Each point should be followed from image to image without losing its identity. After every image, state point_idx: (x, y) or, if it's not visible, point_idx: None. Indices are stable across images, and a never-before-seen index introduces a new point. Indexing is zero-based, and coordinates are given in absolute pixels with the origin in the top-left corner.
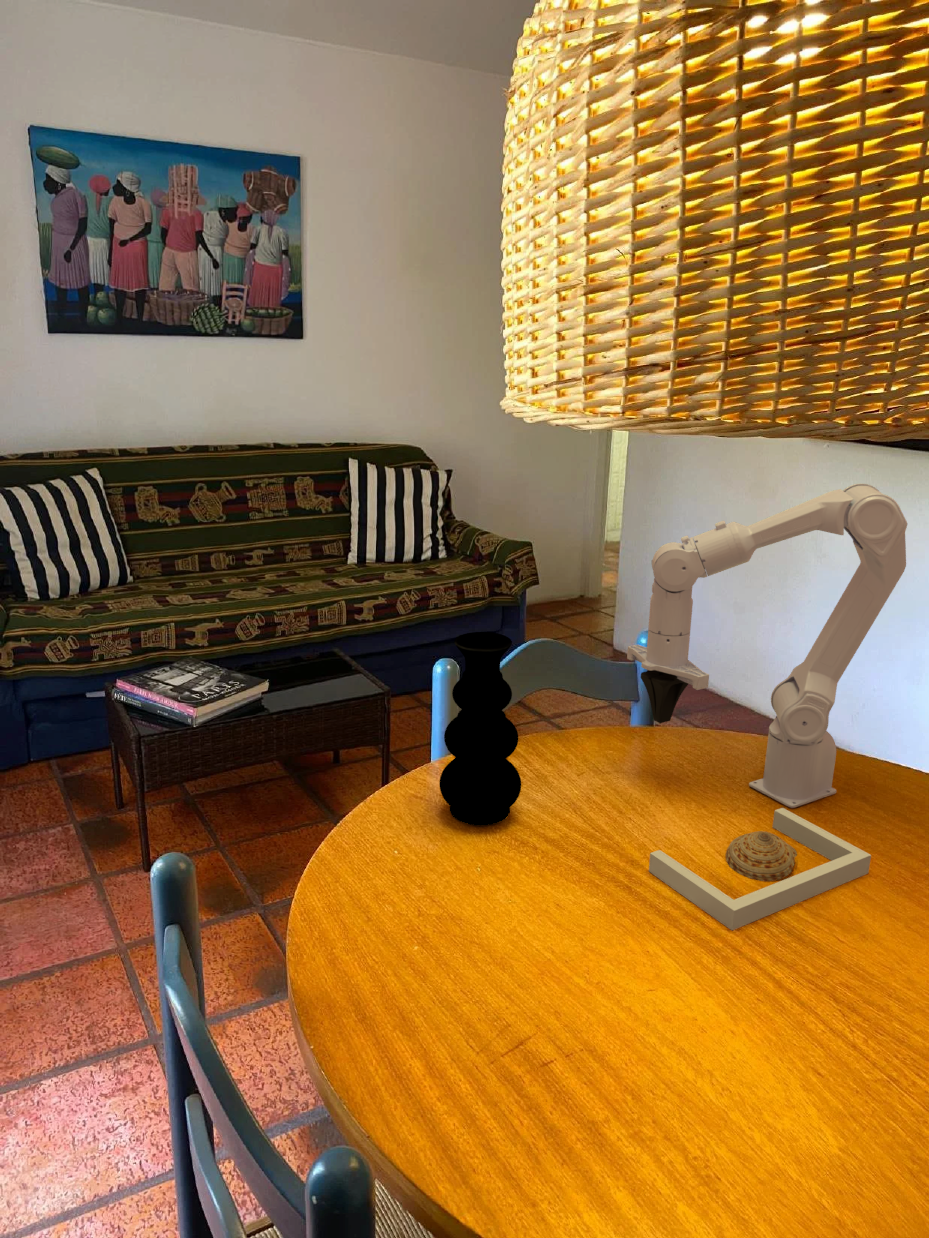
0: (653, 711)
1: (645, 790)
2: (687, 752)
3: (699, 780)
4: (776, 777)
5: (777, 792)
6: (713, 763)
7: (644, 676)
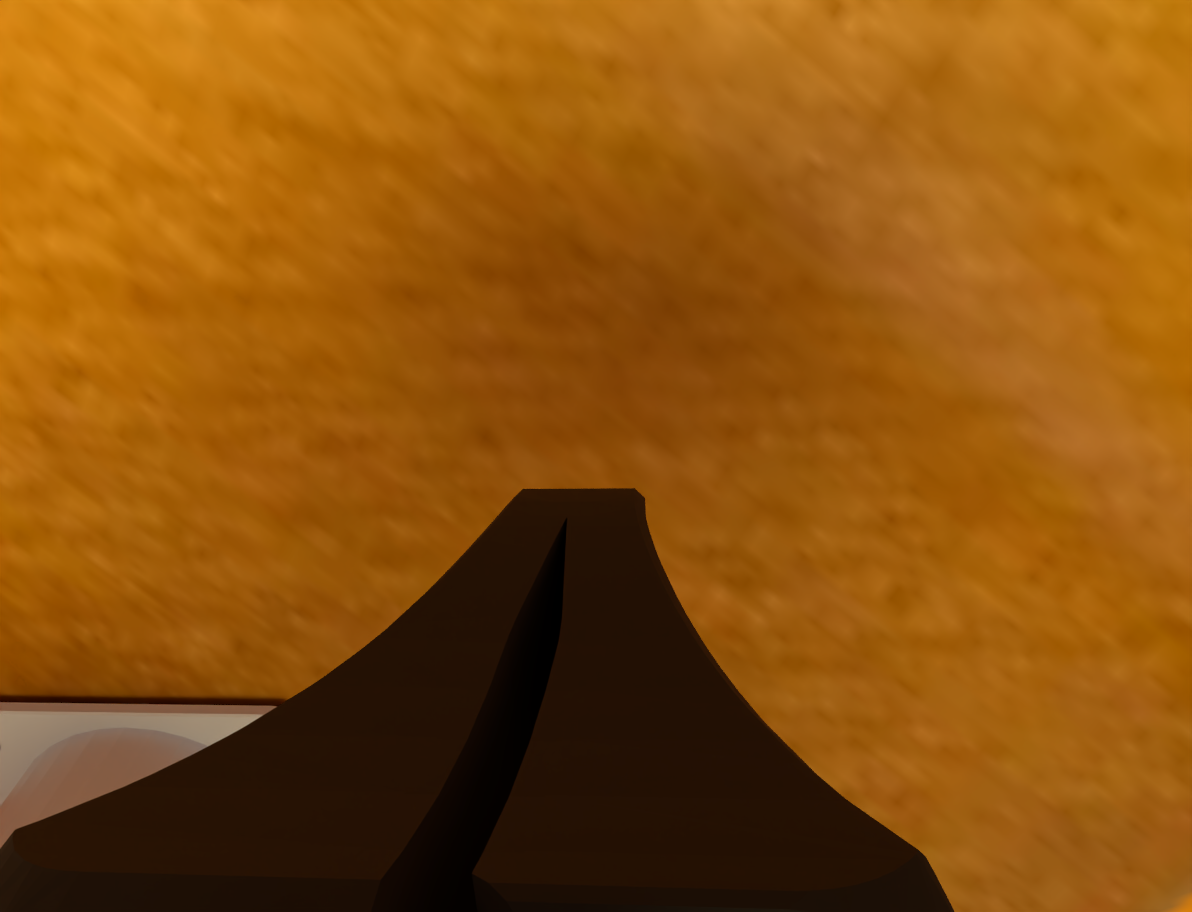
0: (609, 535)
1: (523, 72)
2: (864, 726)
3: None
4: (48, 816)
5: (78, 747)
6: None
7: (696, 903)
